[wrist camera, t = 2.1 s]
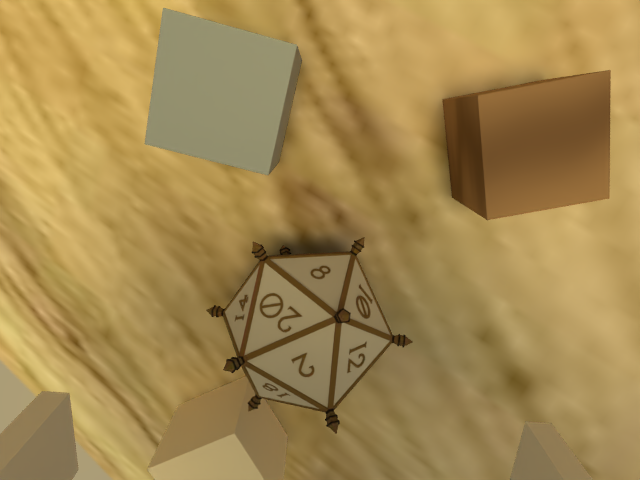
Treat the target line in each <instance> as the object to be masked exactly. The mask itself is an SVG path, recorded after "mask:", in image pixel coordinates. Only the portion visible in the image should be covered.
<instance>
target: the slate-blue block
mask: <svg viewBox="0 0 640 480" xmlns="http://www.w3.org/2000/svg"><path fill="white" fill-rule="evenodd" d="M301 63H302V59H301V56H300V53H299V49H298V46H297V45H296V44H292V43H288V42H285V41H281V40H278V39H274V38H270V37H267V36H263V35H260V34H256V33H253V32H249V31H245V30H242V29H238V28H235V27H231V26H227V25H224V24H220V23H217V22H213V21H209V20H206V19H202V18H199V17H195V16H191V15H188V14H184V13H181V12H177V11H173V10H170V9H166V8H163V12H162V20H161V27H160V34H159V42H158V49H157V57H156V64H155V71H154V79H153V86H152V94H151V101H150V108H149V116H148V123H147V130H146V138H145V144H146V145H150V146H154V147H158V148H162V149H166V150H170V151H174V152H178V153H182V154H186V155H190V156H194V157H198V158H202V159H206V160H210V161H213V162H217V163H221V164H225V165H229V166H233V167H237V168H241V169H245V170H249V171H253V172H257V173H261V174H265V175H269V174H270V173H271V171H272V170H273V169H274V168H275V166H276V165H277V164H278V163H279V160H280V155H281V151H282V147H283V142H284V138H285V133H286V129H287V124H288V120H289V116H290V111H291V107H292V102H293V98H294V94H295V89H296V85H297V80H298V76H299V71H300V67H301Z"/></svg>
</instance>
